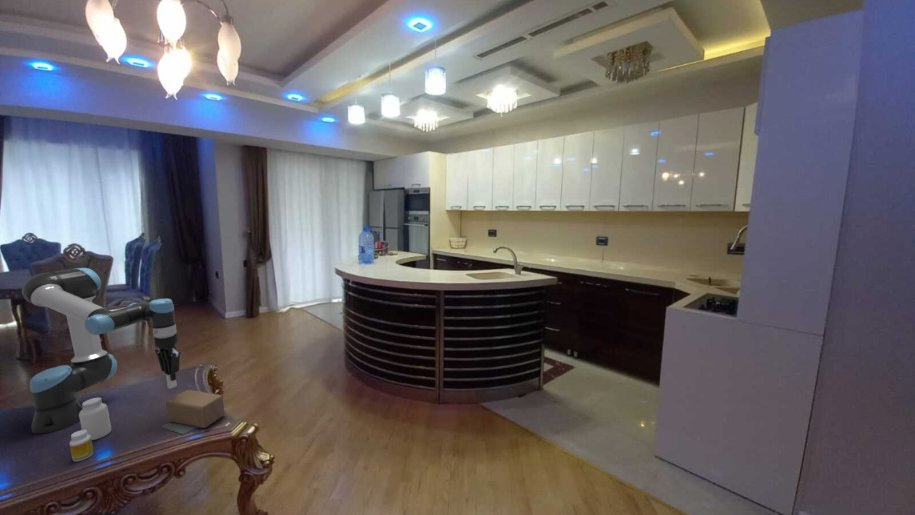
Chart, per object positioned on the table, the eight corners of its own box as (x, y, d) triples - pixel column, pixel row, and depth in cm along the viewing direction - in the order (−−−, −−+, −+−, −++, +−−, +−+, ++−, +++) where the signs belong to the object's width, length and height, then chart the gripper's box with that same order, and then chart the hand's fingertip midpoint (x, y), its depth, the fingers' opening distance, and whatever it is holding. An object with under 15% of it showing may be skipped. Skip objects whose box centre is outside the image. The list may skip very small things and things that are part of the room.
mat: (161, 427, 145) (161, 426, 145) (196, 409, 158) (196, 408, 158) (183, 435, 141) (183, 434, 141) (217, 415, 154) (217, 414, 154)
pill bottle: (91, 431, 143) (85, 397, 141) (115, 426, 146) (110, 394, 144) (78, 443, 136) (71, 408, 133) (104, 438, 139) (98, 404, 136)
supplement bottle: (93, 456, 129) (89, 432, 127) (72, 464, 125) (67, 439, 123) (93, 449, 132) (89, 426, 131) (72, 456, 129) (68, 433, 127)
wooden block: (167, 422, 148) (204, 429, 144) (164, 400, 147) (202, 407, 142) (190, 409, 158) (225, 415, 153) (187, 388, 156) (223, 394, 152)
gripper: (145, 336, 146) (152, 388, 149) (165, 340, 141) (172, 394, 145) (165, 330, 153) (172, 380, 156) (185, 334, 148) (191, 385, 152)
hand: (172, 386), depth 150 cm, fingers closed
